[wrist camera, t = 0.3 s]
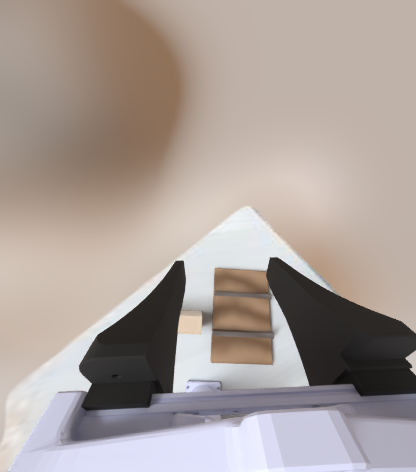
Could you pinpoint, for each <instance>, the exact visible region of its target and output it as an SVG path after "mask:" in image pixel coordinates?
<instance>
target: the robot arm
mask: <svg viewBox="0 0 416 472" xmlns="http://www.w3.org/2000/svg"><path fill="white" fill-rule="evenodd" d="M266 278H267V281H268V284H269V286H270V288H271V290H272V292H273V294H274V296H275V298H276V300H277V302H278V304H279V306H280V308H281V310H282V312H283V314H284V316H285V318H286V320H287V323H288V325H289V328H290V330H291V333H292V335H293V338H294V341H295V343H296V346H297V349H298V352H299V354H300V357H301V360H302V363H303V366H304V369H305V373H306V376H307V379H308V382H309V385H310V386H304V387H284V388H264V389H244V390H224V391H220V389H221V385H220V382H205V381H187V382H186V391H185V392H184V393H173V379H174V366H175V355H176V344H177V334H178V325H179V318H180V313H181V308H182V303H183V298H184V293H185V284H186V276H185V268H184V261H176V262H175V263H174V264H173V266H172V267H171V269H170V270H169V272H168V273H167V274H166V276H165V277H164V278H163V280H162V281H161V282H160V283H159V284H158V285H157V287H156V288H155V289H154V290H153V291H152V292H151V293H150V294H149V295H148V296H147V297H146V298H145V299H144V300H143V301H142V302H141V303H140V304H139V305H138V306H136V307H135V308H134V309H133V310H132V311H130V312H129V313H128V314H127V315H125V316H124V317H123V318H121V319H120V320H119V321H117V322H116V323H115V324H113V325H112V326H110V327H109V328H107V329H106V330H104V331H103V332H101V333H100V334H98V335H97V337H96V338H95V340H94V341H93V343H92V344H91V346H90V348H89V350H88V351H87V353H86V355H85V356H84V358H83V360H82V362H81V363H80V365H79V370H80V372H81V373H82V375H83V376H85V377H86V378H87V379H88V380H89V381H90V382H91V383H92V385H91V387H90V389H89V391H88V392H85V391H66V392H58V393H56V394H55V396H54V397H53V399H52V401H51V402H50V404H49V405H48V407H47V409H46V410H45V412H44V413H43V415H42V417H41V418H40V420H39V422H38V423H37V425H36V426H35V428H34V430H33V431H32V433H31V434H30V436H29V438H28V439H27V441H26V443H25V444H24V446H23V447H22V449H21V451H20V452H19V454H18V455H17V457H16V459H15V460H14V462H13V464H12V465H11V467H10V468H9V470H8V472H416V375H415V374H414V373H413V372H412V371H411V370H410V369H409V368H412V365H411V364H410V363H409V362H408V361H407V360H406V359H405V358H406V357H407V356H409V355H410V354H411V353H412V352H414V351H415V350H416V333H414V332H413V331H412V330H411V329H410V328H409V327H407V326H406V325H405V324H404V323H403V322H401V321H399V320H396V319H393V318H390V317H388V316H385V315H383V314H380V313H377V312H375V311H372V310H370V309H367V308H365V307H363V306H360V305H358V304H356V303H353V302H351V301H349V300H347V299H345V298H342V297H341V296H338V295H336V294H334V293H333V292H331V291H329V290H327V289H325V288H323V287H321V286H320V285H318V284H316V283H315V282H313V281H311V280H310V279H308V278H307V277H305V276H304V275H302V274H301V273H299V272H298V271H296V270H295V269H293V268H292V267H291V266H289V265H288V264H286V263H285V262H284V261H282V260H281V259H279V258H278V257H273V258H270V260H269V264H268V269H267V273H266ZM187 386H189V388H187ZM217 387H219V388H217ZM245 413H251V414H248V415H246V416H241V417H234V418H228V419H221V415H226V414H245Z"/></svg>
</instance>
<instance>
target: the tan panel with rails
mask: <svg viewBox="0 0 416 472" xmlns="http://www.w3.org/2000/svg"><path fill="white" fill-rule="evenodd" d="M266 273H267V272H265V271H250V270H235V269H220V268H215V275H214V297H213V320H212V343H211V363H234V364H264V365H273V362H272V345H271V338H274V334H273V333H272V332H271V328H270V311H269V299H271V294H269V293H268V281H267V278H266Z"/></svg>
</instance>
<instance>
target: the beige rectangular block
mask: <svg viewBox="0 0 416 472" xmlns="http://www.w3.org/2000/svg"><path fill="white" fill-rule="evenodd" d="M201 329H202V311H189V310H181V313H180V318H179V325H178V333H183V334H201Z"/></svg>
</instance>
